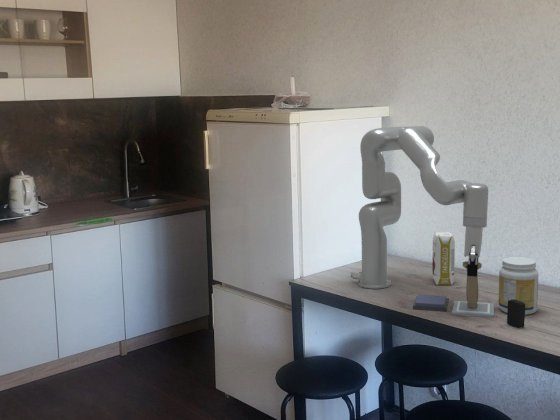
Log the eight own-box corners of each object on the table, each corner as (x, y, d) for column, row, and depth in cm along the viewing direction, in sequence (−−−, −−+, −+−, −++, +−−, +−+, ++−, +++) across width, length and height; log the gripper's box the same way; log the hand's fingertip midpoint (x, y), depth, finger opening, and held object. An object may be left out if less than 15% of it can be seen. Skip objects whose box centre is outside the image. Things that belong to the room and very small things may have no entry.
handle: (474, 310, 220) (473, 265, 218) (460, 306, 226) (459, 262, 224) (484, 308, 222) (484, 263, 221) (471, 303, 228) (470, 260, 226)
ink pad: (412, 309, 227) (412, 303, 226) (416, 299, 237) (416, 293, 237) (446, 311, 223) (446, 305, 223) (448, 301, 234) (448, 295, 233)
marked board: (452, 314, 220) (452, 311, 220) (454, 302, 232) (454, 300, 232) (493, 317, 216) (493, 314, 216) (493, 305, 228) (493, 302, 228)
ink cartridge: (524, 327, 206) (525, 302, 205) (519, 329, 205) (520, 304, 204) (511, 322, 211) (513, 298, 209) (506, 324, 210) (507, 299, 208)
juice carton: (451, 279, 261) (452, 231, 257) (454, 285, 252) (455, 236, 249) (431, 279, 261) (432, 231, 258) (434, 285, 253) (434, 236, 250)
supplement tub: (506, 302, 231) (507, 254, 228) (542, 308, 224) (544, 259, 221) (492, 311, 222) (493, 261, 219) (529, 318, 214) (531, 267, 211)
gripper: (464, 215, 228) (462, 264, 232) (461, 226, 212) (459, 278, 215) (487, 216, 226) (484, 266, 229) (486, 227, 210) (483, 280, 213)
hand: (472, 272), depth 222 cm, fingers open, 9 cm apart
